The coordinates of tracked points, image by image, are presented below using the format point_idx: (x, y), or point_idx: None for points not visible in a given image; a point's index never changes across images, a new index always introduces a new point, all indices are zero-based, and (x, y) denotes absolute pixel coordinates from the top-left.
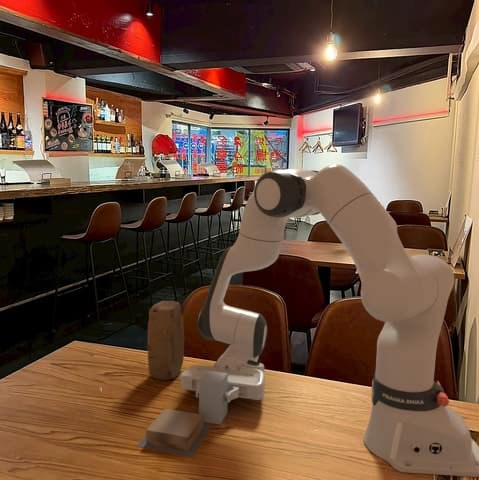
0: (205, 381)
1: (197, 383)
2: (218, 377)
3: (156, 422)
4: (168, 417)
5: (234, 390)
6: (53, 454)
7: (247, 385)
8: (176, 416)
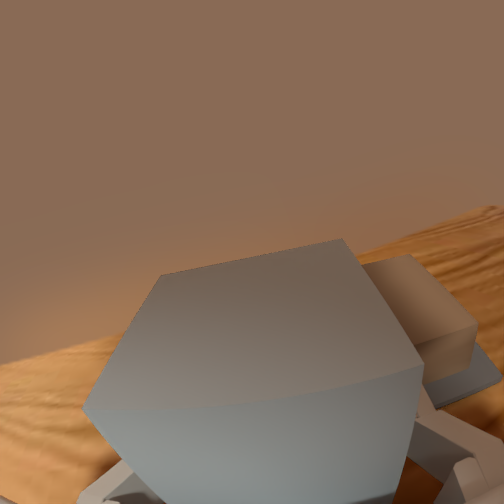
0: (286, 255)
1: (489, 437)
2: (186, 311)
3: (419, 275)
4: (414, 301)
5: (109, 474)
6: (499, 226)
7: (10, 500)
8: (396, 317)
